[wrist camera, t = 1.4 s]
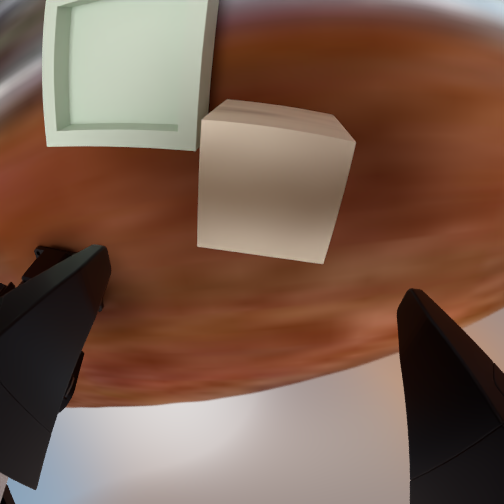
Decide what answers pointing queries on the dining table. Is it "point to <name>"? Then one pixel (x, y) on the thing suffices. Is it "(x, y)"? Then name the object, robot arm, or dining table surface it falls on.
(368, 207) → the dining table surface
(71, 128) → the tray
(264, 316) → the dining table surface
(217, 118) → the maple cube
